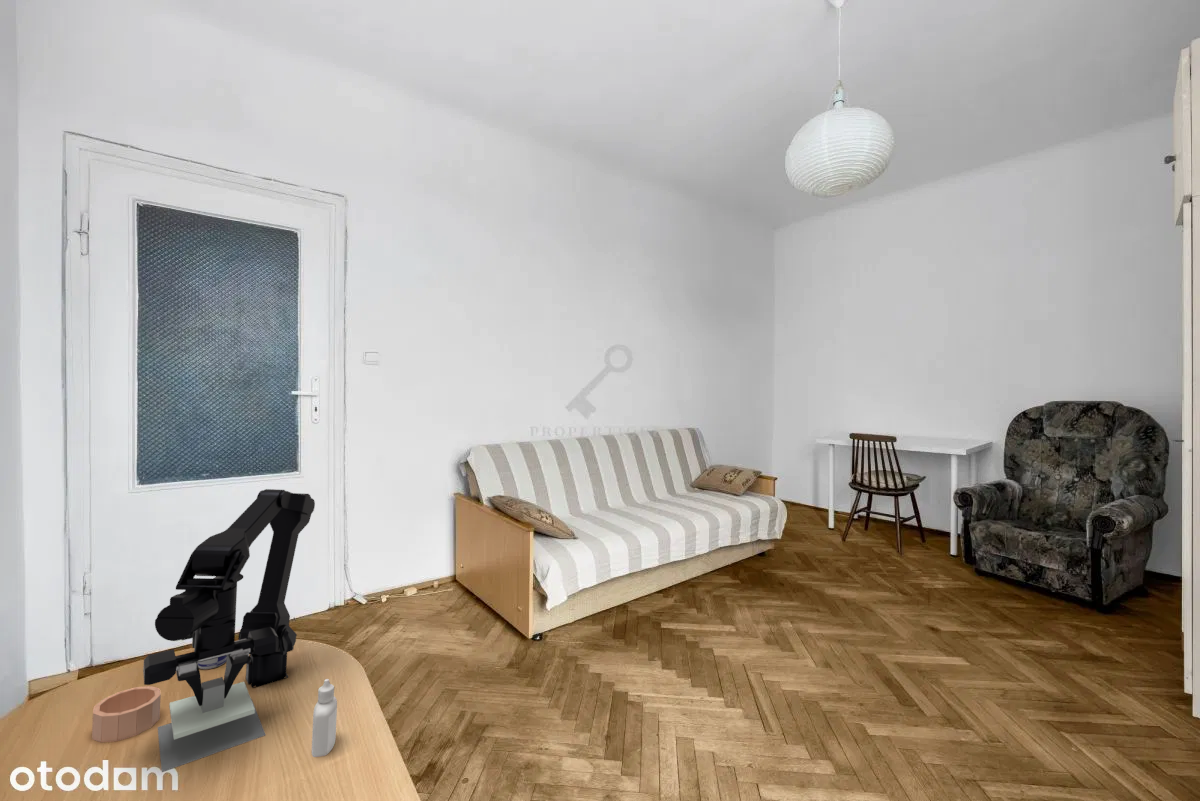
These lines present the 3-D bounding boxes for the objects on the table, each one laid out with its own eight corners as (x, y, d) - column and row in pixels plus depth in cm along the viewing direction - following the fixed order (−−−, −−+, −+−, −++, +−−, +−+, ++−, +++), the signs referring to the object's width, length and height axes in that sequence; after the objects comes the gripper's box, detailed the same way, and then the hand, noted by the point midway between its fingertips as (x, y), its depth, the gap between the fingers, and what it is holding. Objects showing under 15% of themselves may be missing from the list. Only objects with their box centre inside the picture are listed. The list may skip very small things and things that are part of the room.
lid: (243, 685, 98) (245, 660, 98) (254, 713, 90) (255, 686, 90) (169, 707, 91) (170, 680, 91) (173, 739, 83) (175, 710, 83)
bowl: (158, 707, 97) (159, 681, 97) (160, 730, 91) (161, 702, 91) (93, 725, 91) (94, 698, 91) (90, 752, 85) (92, 722, 85)
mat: (251, 701, 101) (251, 698, 101) (265, 738, 90) (265, 735, 90) (157, 730, 91) (157, 727, 91) (161, 775, 81) (161, 771, 81)
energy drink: (210, 671, 110) (213, 616, 110) (190, 667, 111) (192, 613, 111) (233, 659, 115) (235, 606, 115) (213, 655, 116) (216, 603, 116)
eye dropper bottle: (345, 740, 91) (349, 673, 91) (321, 762, 85) (324, 691, 85) (325, 735, 92) (328, 669, 92) (300, 756, 86) (303, 686, 86)
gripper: (268, 588, 103) (264, 665, 103) (144, 611, 90) (140, 699, 90) (280, 606, 95) (277, 690, 95) (146, 635, 82) (142, 731, 82)
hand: (212, 701), depth 90 cm, fingers closed on lid, 3 cm apart
